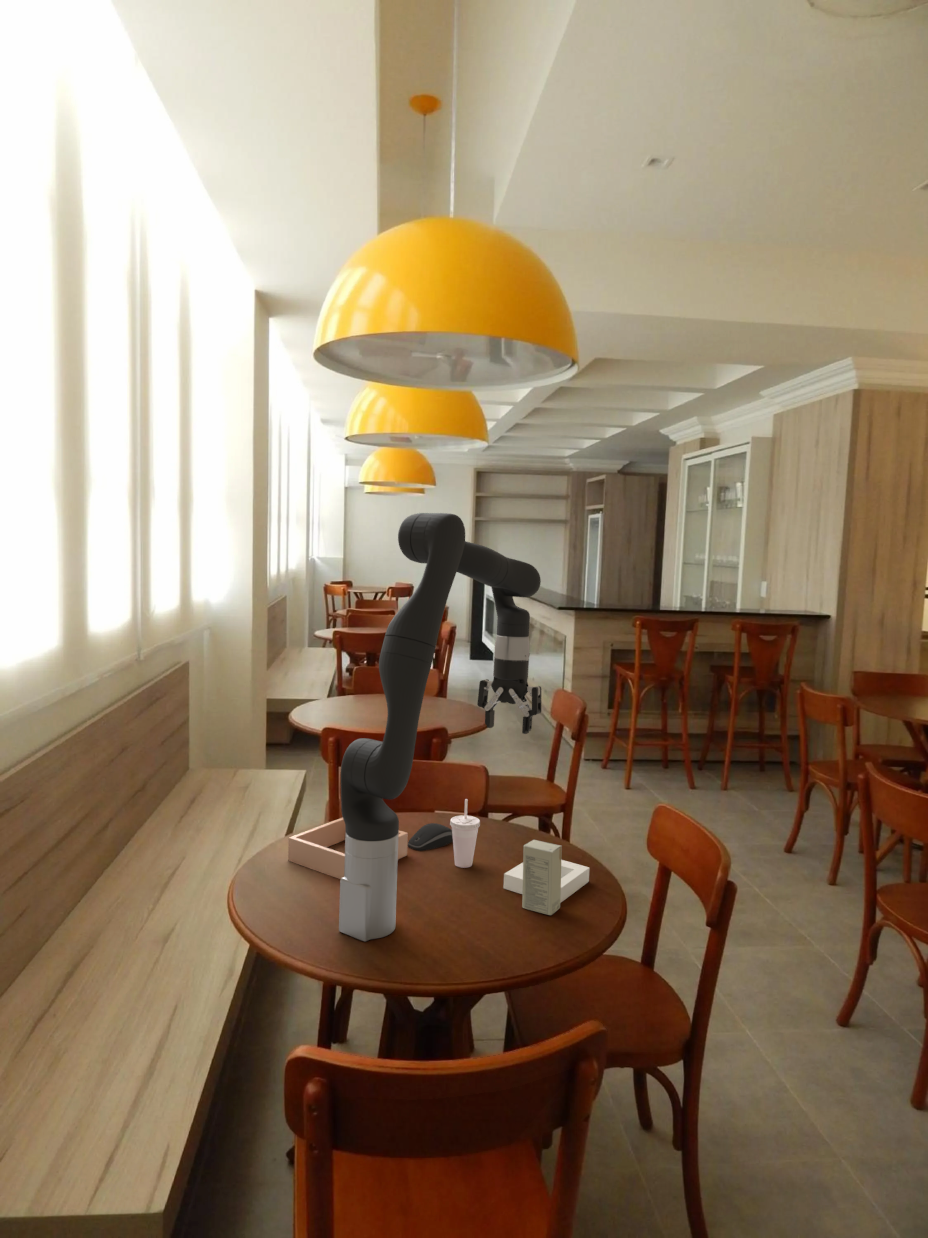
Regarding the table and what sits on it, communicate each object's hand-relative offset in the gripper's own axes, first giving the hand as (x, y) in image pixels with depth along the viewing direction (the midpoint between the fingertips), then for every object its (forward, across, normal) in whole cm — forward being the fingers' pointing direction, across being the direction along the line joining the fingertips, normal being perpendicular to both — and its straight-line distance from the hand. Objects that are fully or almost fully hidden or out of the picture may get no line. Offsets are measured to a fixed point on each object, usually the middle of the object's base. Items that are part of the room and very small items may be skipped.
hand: (507, 730), depth 172 cm
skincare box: (+28, +17, -19) cm, 38 cm away
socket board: (+28, +14, -9) cm, 33 cm away
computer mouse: (+29, -17, -2) cm, 33 cm away
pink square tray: (+28, -27, -20) cm, 44 cm away
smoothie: (+28, -5, -9) cm, 30 cm away
